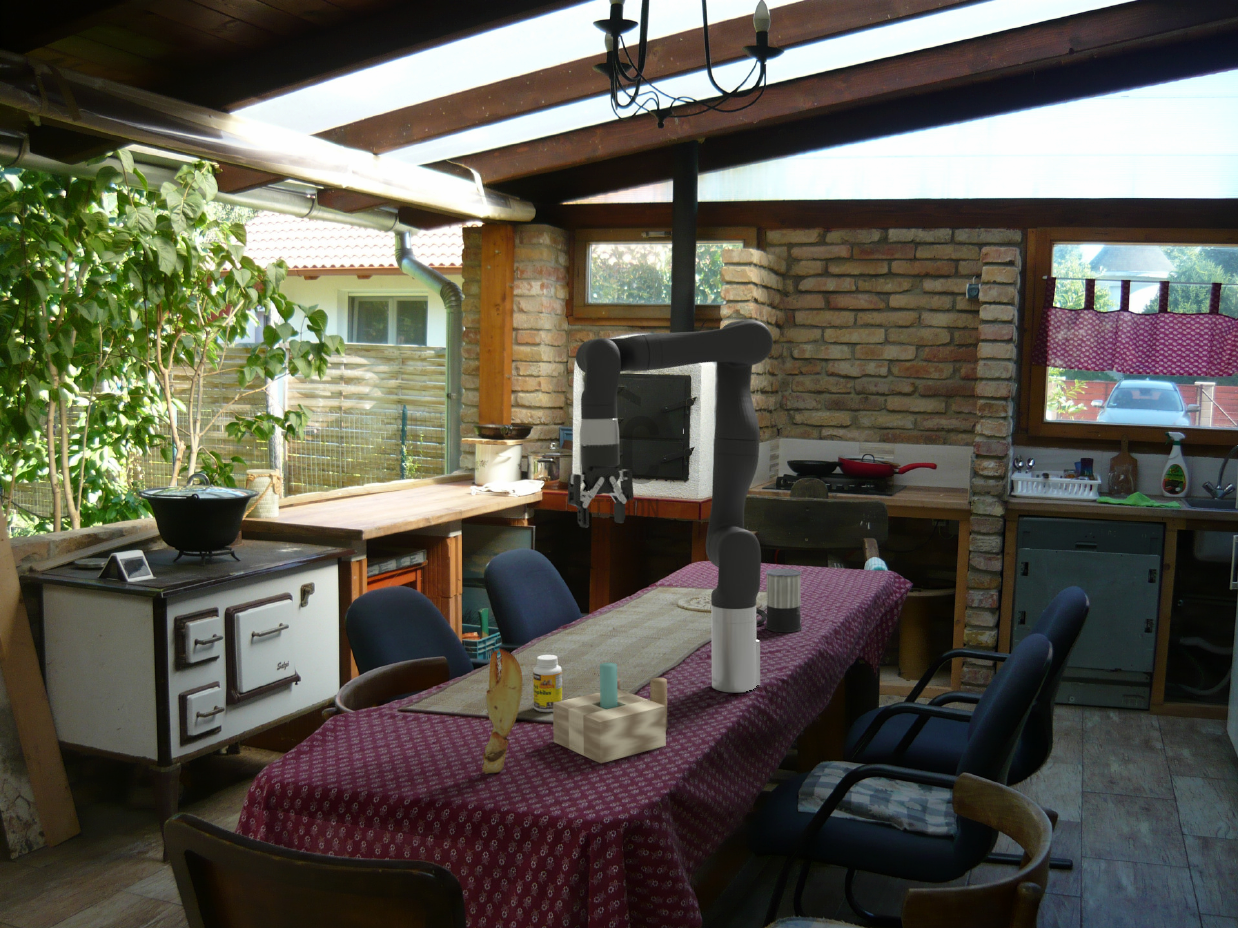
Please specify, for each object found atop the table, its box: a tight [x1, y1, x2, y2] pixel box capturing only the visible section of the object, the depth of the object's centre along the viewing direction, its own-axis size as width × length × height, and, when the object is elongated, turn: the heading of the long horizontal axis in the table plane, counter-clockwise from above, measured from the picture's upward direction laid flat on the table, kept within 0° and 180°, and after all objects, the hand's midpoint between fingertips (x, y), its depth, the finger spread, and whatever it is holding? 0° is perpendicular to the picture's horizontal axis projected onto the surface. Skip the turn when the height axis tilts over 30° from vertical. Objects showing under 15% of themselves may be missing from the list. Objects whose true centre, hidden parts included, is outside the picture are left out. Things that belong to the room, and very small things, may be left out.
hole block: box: [552, 688, 667, 764], centre depth 187 cm, size 14×14×7 cm
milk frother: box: [756, 568, 803, 633], centre depth 276 cm, size 14×16×15 cm
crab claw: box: [481, 648, 524, 775], centre depth 174 cm, size 7×5×20 cm
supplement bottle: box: [532, 654, 563, 713], centre depth 208 cm, size 6×6×10 cm
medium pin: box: [649, 677, 668, 731], centre depth 195 cm, size 3×3×9 cm
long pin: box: [599, 662, 618, 710], centre depth 187 cm, size 3×3×14 cm
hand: (601, 524), depth 210 cm, fingers open, 8 cm apart
